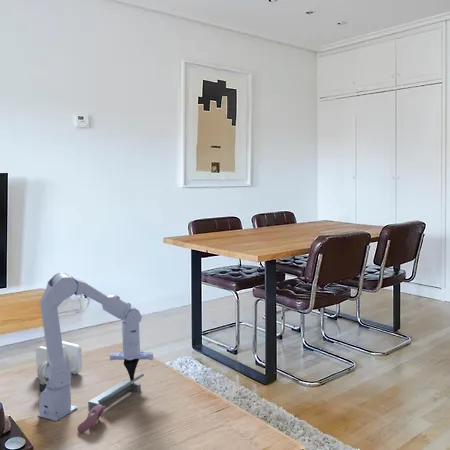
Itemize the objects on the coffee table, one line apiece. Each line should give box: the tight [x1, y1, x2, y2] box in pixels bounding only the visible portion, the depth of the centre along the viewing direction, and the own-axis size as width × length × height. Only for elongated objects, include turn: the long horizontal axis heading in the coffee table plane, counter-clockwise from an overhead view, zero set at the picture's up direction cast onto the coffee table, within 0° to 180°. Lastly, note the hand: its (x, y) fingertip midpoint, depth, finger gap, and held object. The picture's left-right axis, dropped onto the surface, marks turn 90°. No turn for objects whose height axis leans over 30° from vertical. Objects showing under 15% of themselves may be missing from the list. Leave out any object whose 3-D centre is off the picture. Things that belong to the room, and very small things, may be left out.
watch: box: [37, 360, 48, 393], centre depth 171 cm, size 6×8×11 cm
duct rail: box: [87, 380, 142, 409], centre depth 166 cm, size 18×8×2 cm, turn 155°
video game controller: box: [76, 404, 106, 433], centre depth 147 cm, size 10×5×7 cm, turn 174°
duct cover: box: [98, 373, 145, 403], centre depth 164 cm, size 18×6×1 cm
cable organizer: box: [35, 340, 83, 380], centre depth 185 cm, size 15×11×12 cm
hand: (132, 379), depth 168 cm, fingers closed, pressing on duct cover
